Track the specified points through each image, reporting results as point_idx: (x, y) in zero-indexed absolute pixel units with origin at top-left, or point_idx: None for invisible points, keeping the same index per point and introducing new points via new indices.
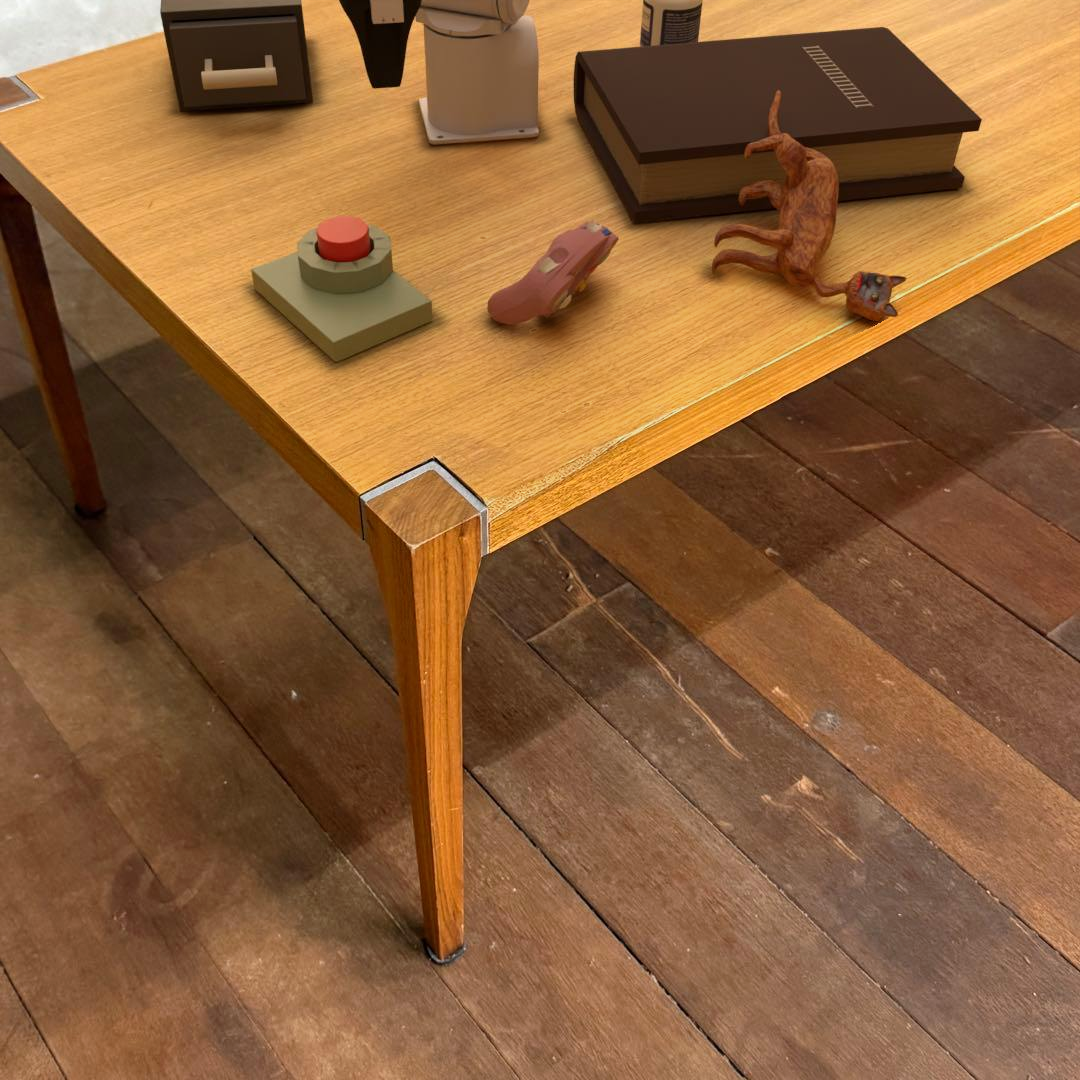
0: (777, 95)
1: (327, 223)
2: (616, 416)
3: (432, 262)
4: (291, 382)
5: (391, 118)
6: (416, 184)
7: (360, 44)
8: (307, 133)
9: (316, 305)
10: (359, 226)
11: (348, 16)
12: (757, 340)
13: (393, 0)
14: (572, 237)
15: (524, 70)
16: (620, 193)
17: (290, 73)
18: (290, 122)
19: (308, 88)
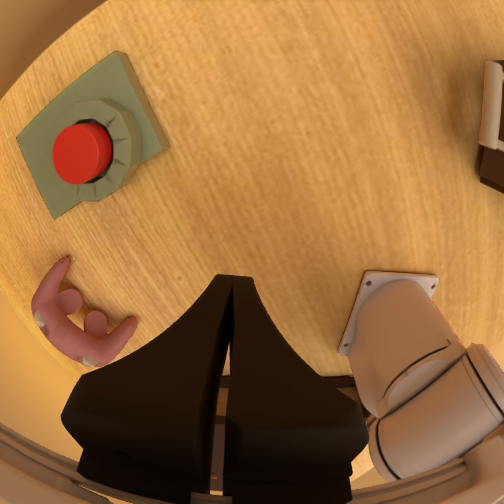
0: (211, 477)
1: (85, 137)
2: (10, 293)
3: (143, 227)
4: (18, 104)
5: (429, 245)
6: (297, 241)
7: (173, 323)
8: (435, 156)
9: (51, 119)
10: (76, 175)
11: (97, 369)
12: (75, 371)
13: None
14: (58, 345)
15: (363, 388)
16: (222, 379)
17: (499, 170)
18: (458, 147)
19: (489, 183)
